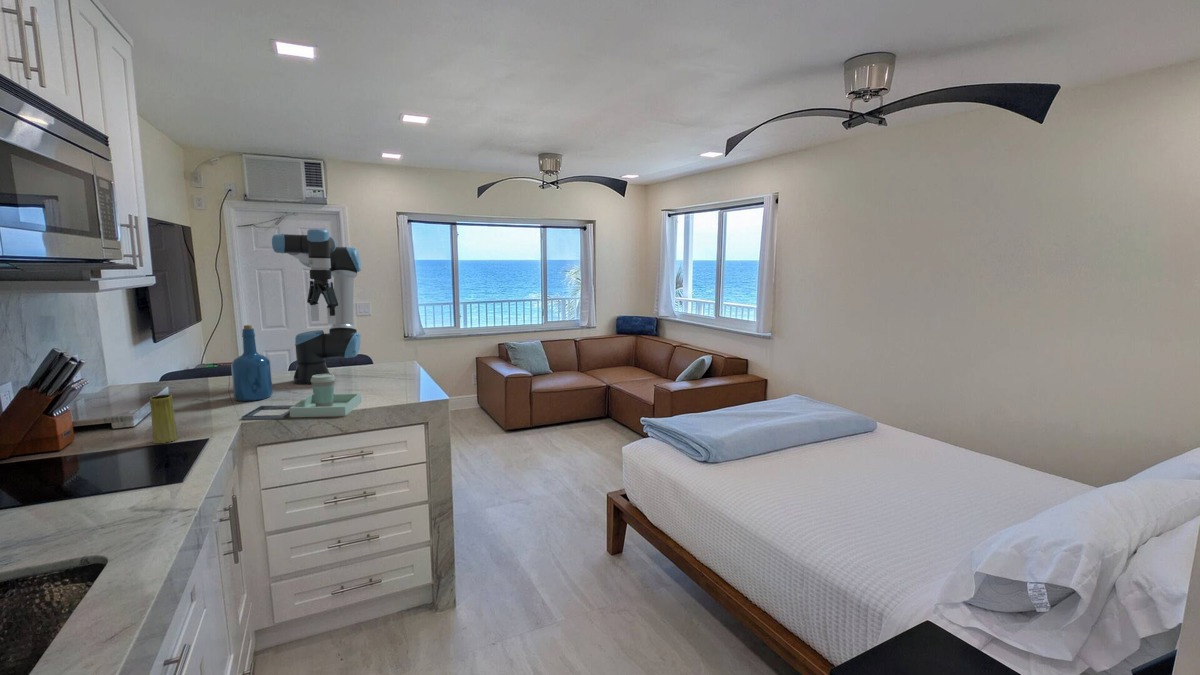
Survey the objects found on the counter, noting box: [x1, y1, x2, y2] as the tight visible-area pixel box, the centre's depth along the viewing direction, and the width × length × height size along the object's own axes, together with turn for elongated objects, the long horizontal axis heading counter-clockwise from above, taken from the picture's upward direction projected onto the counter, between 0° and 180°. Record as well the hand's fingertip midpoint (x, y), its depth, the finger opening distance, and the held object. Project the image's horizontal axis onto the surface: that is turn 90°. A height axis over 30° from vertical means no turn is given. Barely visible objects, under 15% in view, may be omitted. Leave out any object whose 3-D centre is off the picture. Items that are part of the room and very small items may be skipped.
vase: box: [149, 394, 179, 444], centre depth 160 cm, size 6×6×14 cm
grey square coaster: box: [241, 404, 294, 421], centre depth 191 cm, size 14×14×1 cm
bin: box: [289, 392, 362, 418], centre depth 197 cm, size 19×19×4 cm
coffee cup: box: [310, 373, 336, 407], centre depth 199 cm, size 8×8×12 cm
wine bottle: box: [230, 324, 274, 402], centre depth 208 cm, size 14×13×30 cm
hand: (323, 322), depth 206 cm, fingers open, 13 cm apart
